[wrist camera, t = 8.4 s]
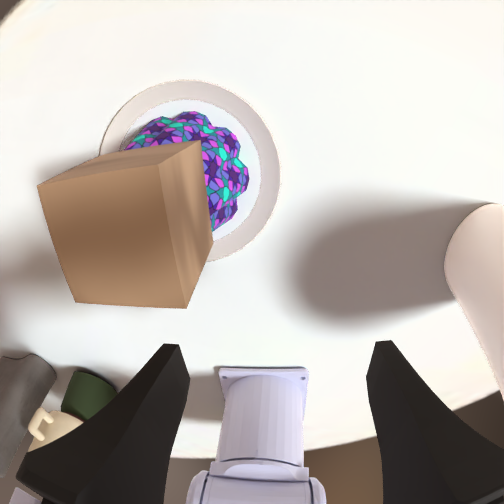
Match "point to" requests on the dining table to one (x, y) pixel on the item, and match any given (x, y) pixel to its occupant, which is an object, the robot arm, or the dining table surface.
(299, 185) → the dining table surface
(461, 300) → the candle holder
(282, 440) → the robot arm
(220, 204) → the pudding
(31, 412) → the flask
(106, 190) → the walnut block
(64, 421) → the character mug
